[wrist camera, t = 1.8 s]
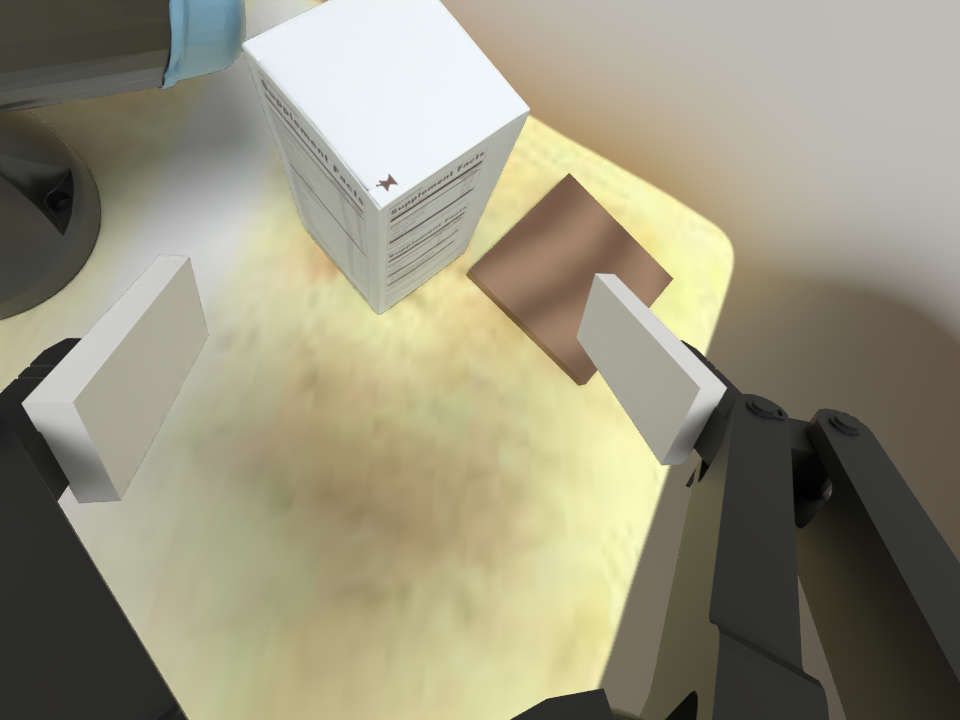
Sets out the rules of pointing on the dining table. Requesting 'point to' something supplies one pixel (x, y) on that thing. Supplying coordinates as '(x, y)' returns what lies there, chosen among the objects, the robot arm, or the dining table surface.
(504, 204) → the dining table surface
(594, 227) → the walnut board
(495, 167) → the supplement box
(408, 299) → the dining table surface
